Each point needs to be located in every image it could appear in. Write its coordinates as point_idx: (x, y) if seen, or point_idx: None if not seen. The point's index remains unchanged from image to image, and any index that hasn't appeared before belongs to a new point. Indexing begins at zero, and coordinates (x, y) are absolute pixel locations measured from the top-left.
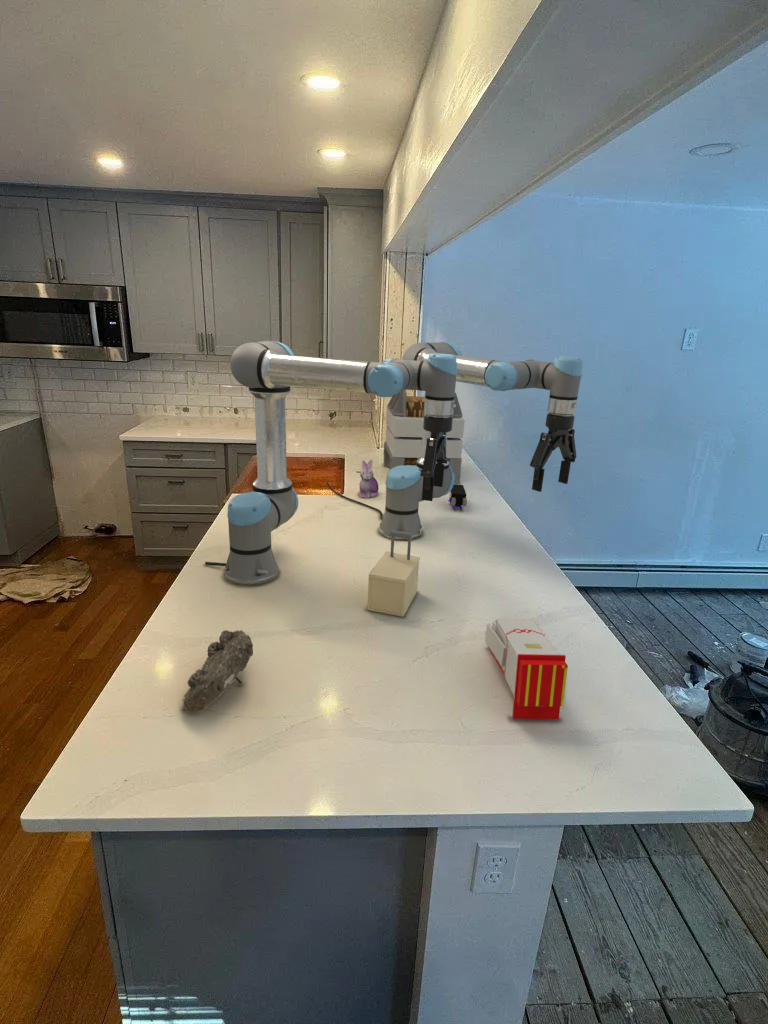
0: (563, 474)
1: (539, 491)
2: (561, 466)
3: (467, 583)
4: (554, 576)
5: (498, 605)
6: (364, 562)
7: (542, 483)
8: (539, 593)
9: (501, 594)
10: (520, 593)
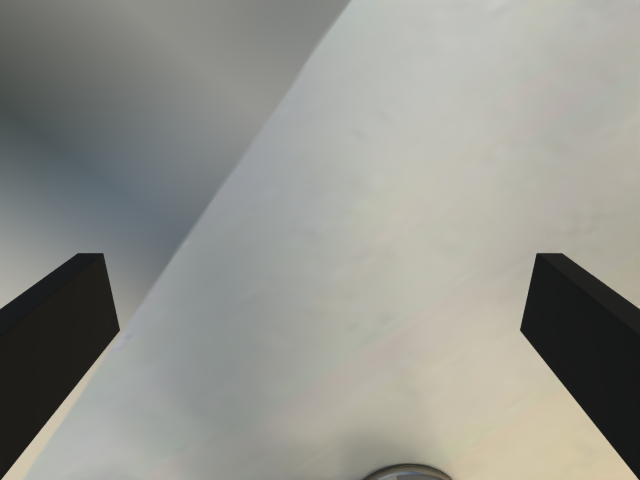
0: (62, 344)
1: (560, 259)
2: (10, 452)
3: (545, 229)
4: (296, 94)
5: (613, 86)
6: None
7: (588, 291)
8: (448, 51)
9: (540, 125)
10: (493, 91)
